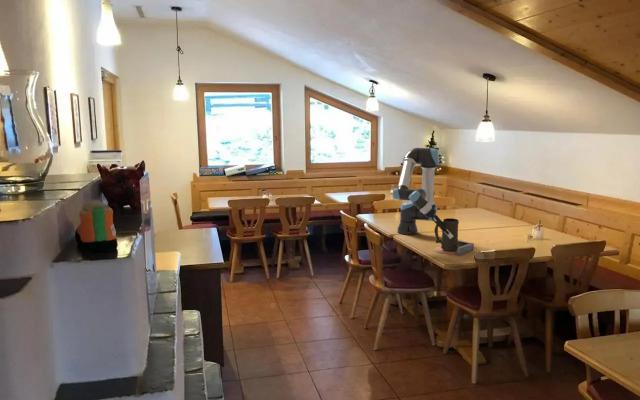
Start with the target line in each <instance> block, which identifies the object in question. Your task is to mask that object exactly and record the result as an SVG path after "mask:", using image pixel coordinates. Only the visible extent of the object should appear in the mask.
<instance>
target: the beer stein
mask: <svg viewBox="0 0 640 400" xmlns="http://www.w3.org/2000/svg"><path fill="white" fill-rule="evenodd" d="M442 222H443V223H442V224H443V225H444V227H445V228H446V229H447V230H448V231H449V232H450V233H451V234H452V235H453V237H452V238H451V239H450V238H449V237H448V236H447V235H446V234H445V233H444V232H442V231H441V239H440V237H439V226H438V225H437V224H436V223H435V227H434V229H433V230H434V235H435V238H436V240H435V244H441V245H440V247H441V248H442V249H444V250H449V251H454V250H457V249H458V237H459V236H458V235H459V222H460V221H459V219H457V218H452V217H451V218H449V217H447V218H444V219H443V221H442ZM443 229H444V228H443Z"/></svg>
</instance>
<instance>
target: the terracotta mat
mask: <svg viewBox="0 0 640 400" xmlns="http://www.w3.org/2000/svg"><path fill="white" fill-rule="evenodd" d="M433 252H435V253H438V254H445V255H453V254H457V250H454V251H449V250H444V249H442V248H441V246H436V247H434V248H433Z"/></svg>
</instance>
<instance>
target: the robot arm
mask: <svg viewBox="0 0 640 400" xmlns="http://www.w3.org/2000/svg"><path fill="white" fill-rule="evenodd" d="M416 165H420V168H421V169H422V178H421V188H420V187H419V188H417V189H411V188H410V184H411V180H412V175H413V171H414V168H415V167H416ZM439 165H440V154H439V150H438V149H437V148H434V147H413V148H412V149H410V150H409V151H408V152H407V153H406V154H405V155H404V156H403V159H402V169H401V173H400V176H399V180H398V184H397V187H396V188H393V190H392V199H394V200H398V201H399V200H400V201H406V202H402V203H401V205H400V217H399V219H400V222H399V225H398V227H397V233H398V234H401V235H406V236H407V235H408V236H413V235H417V234H418V232H419V231H418V227H417V223H416V222H417V221H425V222H426V221H428V222H430V221H431V222H434V223H435V225H436V224H437V225H438V226H439V227H438V229H439V228H440V230H441V233H442V232H444V233H445V234H446V235H447V236H448V237H449V238H450V239H451V238H452V237H453V235H452V234H451V233H450V232H449V231H448V230H447V229H446V228H445V227H444V225H443V224H442V223H443V221H442V219H440V217H439V216H438V215H437V212H438V205H436V202H435V201H434V195H435V194H434V193H435V192H434V191H435V170H436V169H437V167H438V166H439ZM443 228H444V229H443Z"/></svg>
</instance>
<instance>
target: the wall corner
mask: <svg viewBox="0 0 640 400" xmlns="http://www.w3.org/2000/svg"><path fill="white" fill-rule="evenodd" d="M474 246H475V243H473V242H468V241H463V240H458V249H457V253H456V256H458V257H461V256H464V255H466V253H467V254H469V253H471V252H474V250H475V249H474V248H475V247H474Z"/></svg>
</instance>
